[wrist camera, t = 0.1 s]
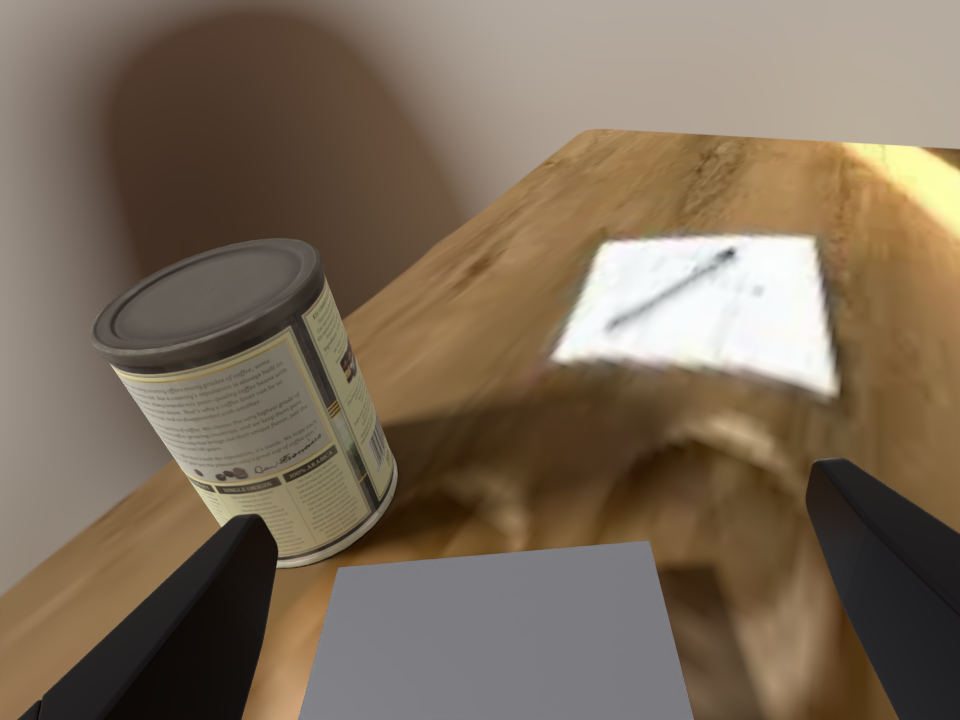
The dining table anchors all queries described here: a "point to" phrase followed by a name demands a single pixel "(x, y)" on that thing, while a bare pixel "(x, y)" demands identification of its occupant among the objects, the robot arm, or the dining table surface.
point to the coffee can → (256, 392)
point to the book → (500, 640)
